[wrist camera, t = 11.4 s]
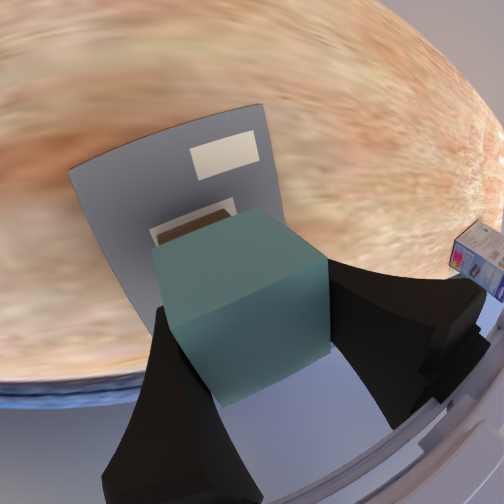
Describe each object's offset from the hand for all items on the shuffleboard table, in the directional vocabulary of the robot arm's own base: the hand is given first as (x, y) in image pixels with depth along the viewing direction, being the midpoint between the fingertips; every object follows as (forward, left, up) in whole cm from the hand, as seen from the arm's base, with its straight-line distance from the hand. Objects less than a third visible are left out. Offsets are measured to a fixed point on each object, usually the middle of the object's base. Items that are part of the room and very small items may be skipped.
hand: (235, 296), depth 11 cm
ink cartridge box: (+19, +40, -9) cm, 45 cm away
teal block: (0, 0, -2) cm, 2 cm away
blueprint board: (+2, 0, -8) cm, 9 cm away
